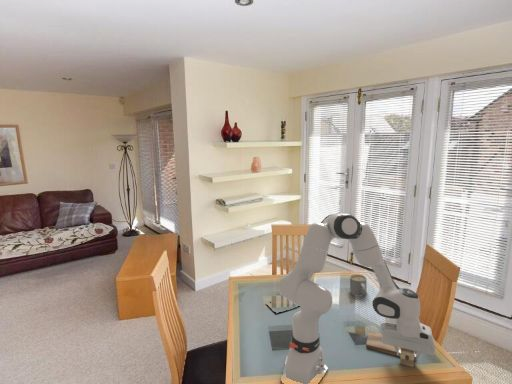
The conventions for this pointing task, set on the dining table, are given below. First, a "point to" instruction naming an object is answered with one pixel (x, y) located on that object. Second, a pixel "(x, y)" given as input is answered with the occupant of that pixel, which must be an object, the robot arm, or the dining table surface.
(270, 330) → the dining table surface
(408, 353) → the gauge
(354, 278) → the coffee mug
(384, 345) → the board
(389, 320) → the white cup
